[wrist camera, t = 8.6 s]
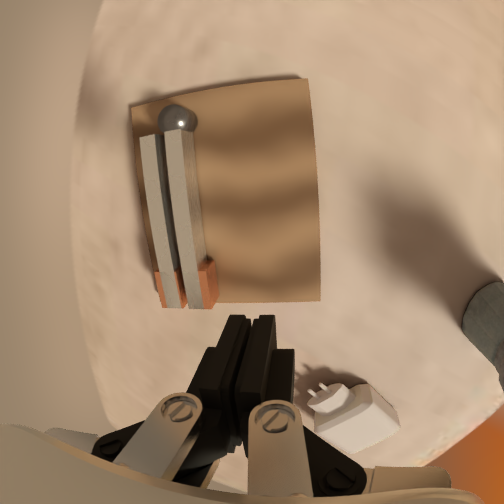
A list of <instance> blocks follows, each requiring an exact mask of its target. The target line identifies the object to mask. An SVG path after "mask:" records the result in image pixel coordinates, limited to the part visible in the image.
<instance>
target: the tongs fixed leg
mask: <svg viewBox="0 0 504 504" xmlns="http://www.w3.org/2000/svg"><path fill="white" fill-rule="evenodd" d="M140 149H141V158H142V167H143V176H144V183H145V191H146V198H147V205H148V211H149V218H150V224H151V230H152V236H153V241H154V247H155V252H156V257H157V262H158V267H159V268H158V269H157V270H156V271H155V272H154V273H155V278H156V282H157V287H158V291H159V295H160V300H161V304H162V308H184V307H185V305H186V304H187V303H188V301H187V296H186V290H185V285H184V279H183V274H182V268H181V262H180V256H179V250H178V244H177V237H176V230H175V223H174V216H173V209H172V201H171V193H170V185H169V176H168V167H167V157H166V146H165V135H159V134H153V135H148V136H144V137H140Z"/></svg>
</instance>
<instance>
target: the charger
mask: <svg viewBox="0 0 504 504" xmlns="http://www.w3.org/2000/svg"><path fill="white" fill-rule="evenodd" d="M319 386H320V387H321V388H322V390H320V391H318V392H317V393H315V392H314V391H312V390H311V389H308V392H309V393H310V394H311V395H312V396H313V397H312V398H311V399H310V400H309V401H308V402H307V405H308V406H309V407H311V408H312V409H313V410H315V414H314V432H315V433H317V434H318V435H320V436H321V437H323V438H324V439H326V440H327V441H329V442H331V443H332V444H334V445H335V446H337V447H338V448H340V449H342V450H343V451H345V452H346V453H348V454H354V453H357V452H359V451H361V450H363V449H366V448H368V447H370V446H372V445H374V444H376V443H378V442H380V441H382V440H384V439H386V438H388V437H390V436H392V435H394V434H395V433H396V432H397V431H398V430H399V429H400V422H399V419H398V415H397V411H396V410H395V409H394V408H393V407H392V406H391V405H390V404H389V403H388V402H387V401H386V400H384V399H383V398H382V397H381V396H380V395H379V394H378V393H377V392H376V391H375V390H374V389H373V388H372V387H371V386H370V385H369V384H360V385H356V386H354V387H352V388H351V389H348V388H346V387H345V386H344V385H343V384H341V383H337V384H331V385H329V386H327V387H326V386H325V385H324V384H323V383H319Z"/></svg>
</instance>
